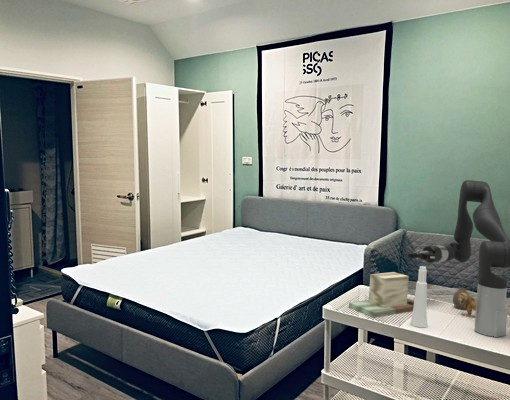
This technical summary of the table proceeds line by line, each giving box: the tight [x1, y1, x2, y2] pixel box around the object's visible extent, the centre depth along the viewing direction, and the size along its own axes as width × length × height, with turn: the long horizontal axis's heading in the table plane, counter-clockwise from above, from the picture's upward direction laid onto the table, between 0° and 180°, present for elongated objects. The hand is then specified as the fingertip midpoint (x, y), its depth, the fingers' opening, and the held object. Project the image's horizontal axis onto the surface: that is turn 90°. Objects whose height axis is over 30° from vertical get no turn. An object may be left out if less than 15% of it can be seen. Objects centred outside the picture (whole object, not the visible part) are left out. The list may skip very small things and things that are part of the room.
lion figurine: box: [458, 293, 477, 318], centre depth 177 cm, size 15×5×9 cm, turn 44°
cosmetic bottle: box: [409, 265, 428, 329], centre depth 164 cm, size 6×6×22 cm
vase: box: [452, 287, 470, 310], centre depth 190 cm, size 7×7×9 cm
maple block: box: [368, 271, 410, 308], centre depth 184 cm, size 8×14×12 cm, turn 120°
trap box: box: [348, 298, 414, 318], centre depth 184 cm, size 14×30×2 cm, turn 120°
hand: (408, 255), depth 189 cm, fingers closed
